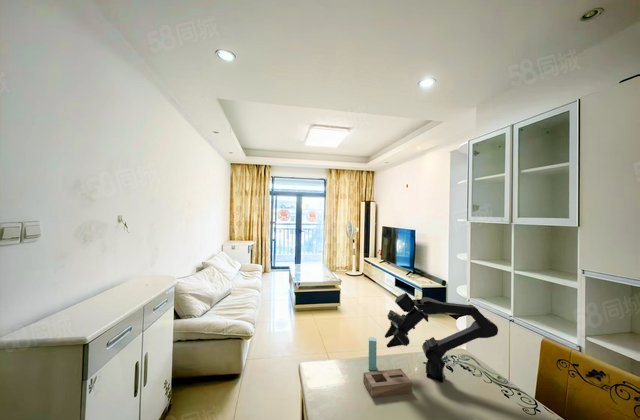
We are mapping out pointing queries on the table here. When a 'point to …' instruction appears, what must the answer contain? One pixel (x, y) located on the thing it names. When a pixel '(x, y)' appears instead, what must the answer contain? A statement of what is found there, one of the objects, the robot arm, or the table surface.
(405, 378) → the bore block
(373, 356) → the teal square peg
